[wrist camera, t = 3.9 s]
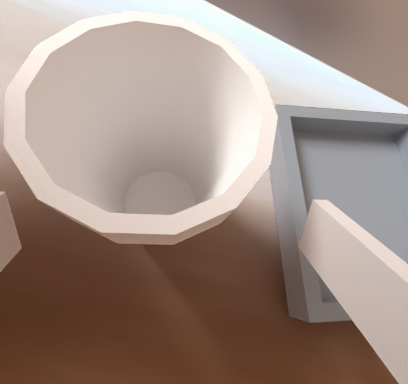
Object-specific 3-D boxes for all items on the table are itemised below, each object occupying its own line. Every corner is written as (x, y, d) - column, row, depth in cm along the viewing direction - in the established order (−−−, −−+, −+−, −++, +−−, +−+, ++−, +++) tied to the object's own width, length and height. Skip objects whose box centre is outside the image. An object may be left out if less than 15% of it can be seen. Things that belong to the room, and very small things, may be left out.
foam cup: (231, 186, 22) (307, 77, 10) (184, 283, 19) (216, 292, 7) (140, 140, 23) (109, -20, 10) (78, 227, 19) (-73, 141, 7)
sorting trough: (288, 316, 19) (309, 323, 16) (263, 123, 25) (275, 104, 22) (452, 307, 21) (495, 311, 19) (393, 131, 27) (419, 115, 25)
